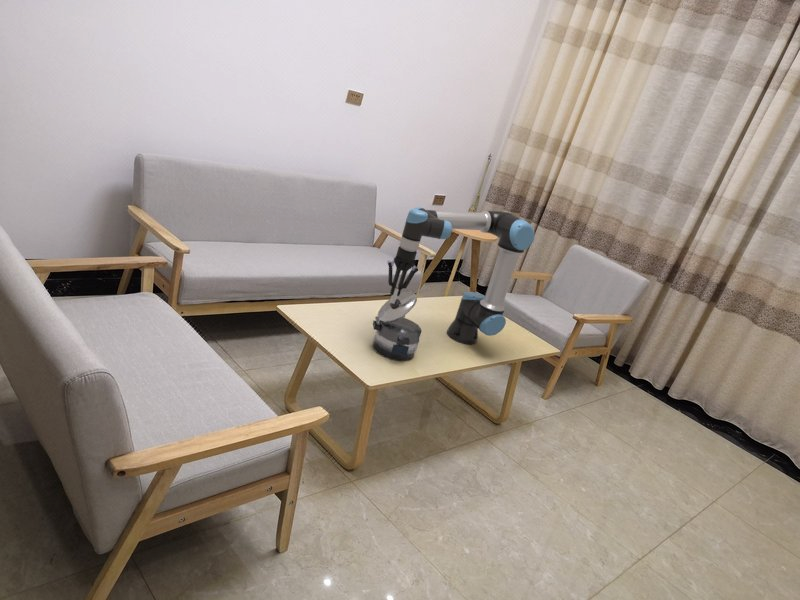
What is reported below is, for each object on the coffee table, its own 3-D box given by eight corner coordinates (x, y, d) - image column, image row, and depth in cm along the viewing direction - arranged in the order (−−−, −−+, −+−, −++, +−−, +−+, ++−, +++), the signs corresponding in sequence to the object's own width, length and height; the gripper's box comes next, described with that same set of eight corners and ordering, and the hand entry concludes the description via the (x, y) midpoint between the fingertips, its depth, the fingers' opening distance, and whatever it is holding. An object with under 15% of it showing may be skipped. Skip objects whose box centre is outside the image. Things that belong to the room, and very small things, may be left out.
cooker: (409, 341, 243) (416, 317, 239) (419, 367, 222) (427, 341, 218) (365, 333, 238) (371, 308, 234) (370, 359, 217) (378, 333, 213)
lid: (413, 289, 231) (409, 283, 229) (421, 306, 214) (416, 299, 213) (374, 314, 232) (370, 307, 231) (379, 332, 216) (374, 326, 214)
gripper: (421, 249, 218) (405, 301, 226) (391, 242, 215) (376, 295, 223) (425, 254, 212) (408, 308, 220) (393, 247, 208) (378, 302, 216)
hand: (392, 302), depth 221 cm, fingers closed
